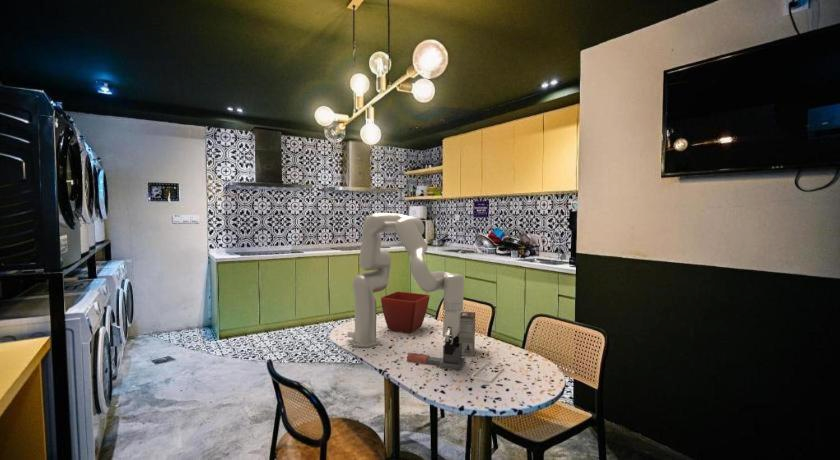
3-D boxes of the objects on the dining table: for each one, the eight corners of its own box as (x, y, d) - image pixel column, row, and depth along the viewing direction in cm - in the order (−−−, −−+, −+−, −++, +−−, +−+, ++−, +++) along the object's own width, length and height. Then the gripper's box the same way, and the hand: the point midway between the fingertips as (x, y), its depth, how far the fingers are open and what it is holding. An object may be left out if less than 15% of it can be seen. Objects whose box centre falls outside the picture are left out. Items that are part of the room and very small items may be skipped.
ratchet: (405, 362, 153) (405, 348, 153) (412, 356, 160) (412, 342, 160) (460, 370, 146) (460, 355, 146) (464, 363, 153) (465, 349, 153)
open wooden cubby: (442, 361, 149) (443, 346, 149) (446, 356, 155) (447, 341, 154) (458, 363, 147) (458, 348, 147) (461, 358, 153) (462, 343, 152)
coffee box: (460, 347, 171) (460, 311, 171) (474, 348, 170) (475, 312, 170) (457, 354, 162) (458, 316, 162) (473, 356, 161) (474, 317, 161)
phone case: (490, 384, 135) (504, 370, 148) (490, 380, 135) (504, 366, 148) (470, 379, 139) (485, 366, 152) (470, 376, 139) (485, 362, 152)
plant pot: (430, 326, 203) (430, 294, 203) (414, 336, 186) (415, 301, 185) (397, 322, 211) (397, 291, 211) (379, 331, 194) (379, 297, 193)
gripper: (449, 300, 159) (448, 342, 160) (437, 310, 143) (436, 356, 144) (467, 302, 157) (466, 344, 158) (457, 312, 141) (456, 359, 141)
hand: (451, 350), depth 151 cm, fingers open, 9 cm apart
